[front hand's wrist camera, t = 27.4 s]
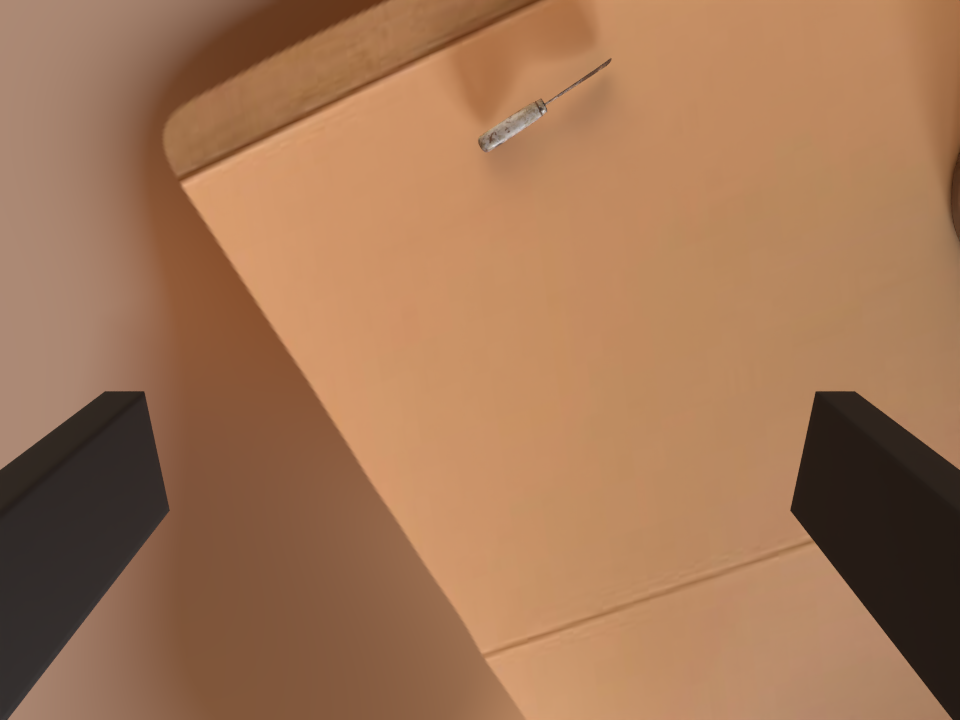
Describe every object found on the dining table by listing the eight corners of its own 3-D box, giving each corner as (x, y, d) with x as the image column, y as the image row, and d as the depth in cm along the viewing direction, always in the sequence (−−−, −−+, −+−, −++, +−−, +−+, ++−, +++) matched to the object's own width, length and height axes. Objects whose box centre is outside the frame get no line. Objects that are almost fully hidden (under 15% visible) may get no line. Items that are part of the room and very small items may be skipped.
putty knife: (475, 138, 35) (475, 140, 33) (601, 49, 33) (607, 46, 32) (485, 154, 35) (486, 157, 34) (611, 67, 34) (617, 65, 32)
